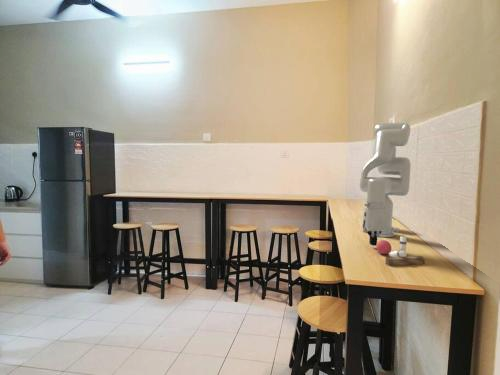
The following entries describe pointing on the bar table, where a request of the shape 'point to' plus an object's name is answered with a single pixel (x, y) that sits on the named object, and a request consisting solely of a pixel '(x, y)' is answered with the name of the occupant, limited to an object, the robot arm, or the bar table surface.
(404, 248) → the rear pin
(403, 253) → the front pin
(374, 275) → the bar table surface
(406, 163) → the robot arm
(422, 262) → the wall
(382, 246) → the ball
